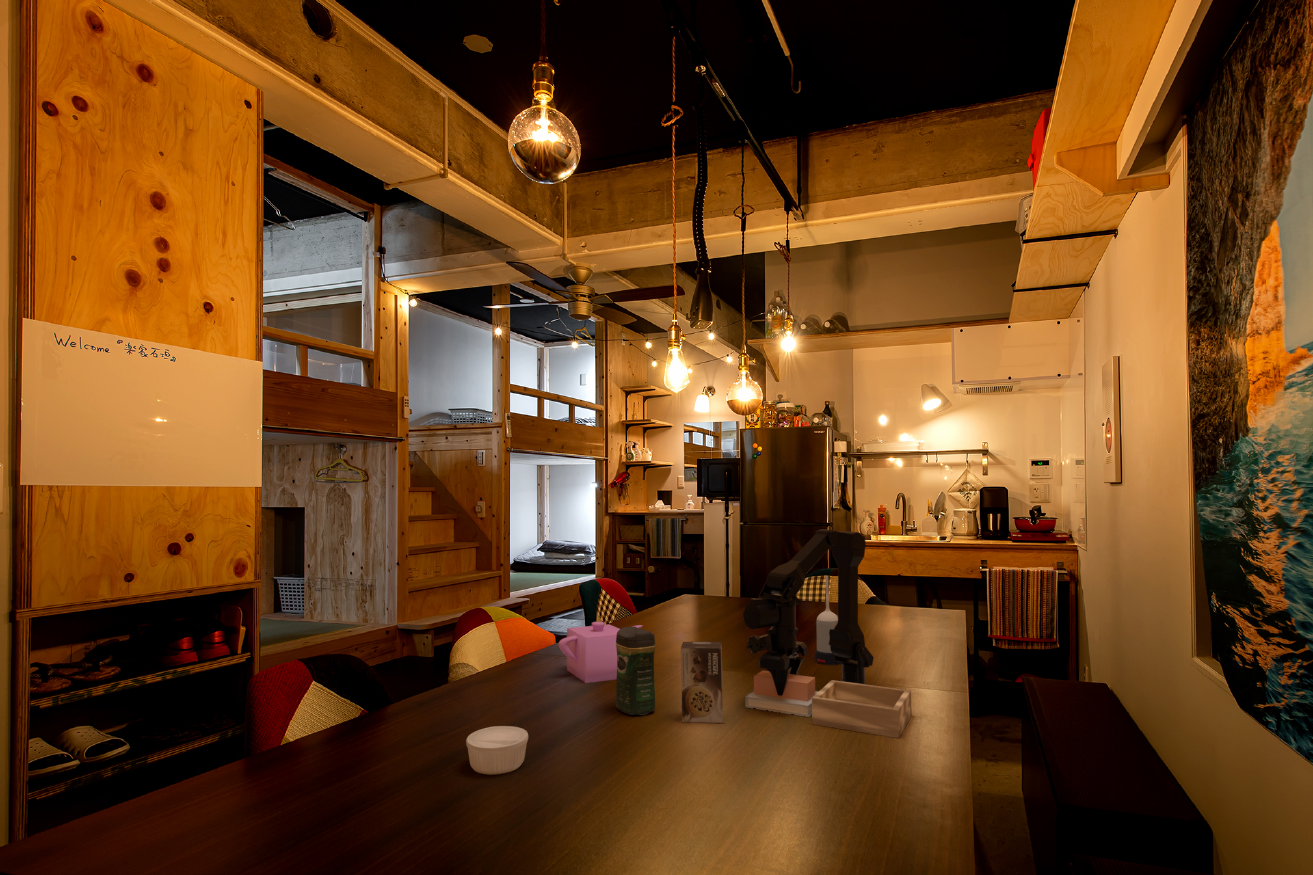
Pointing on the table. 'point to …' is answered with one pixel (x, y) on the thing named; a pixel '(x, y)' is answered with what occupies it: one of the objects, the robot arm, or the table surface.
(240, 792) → the table surface
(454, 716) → the table surface
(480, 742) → the ramekin
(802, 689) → the terracotta rectangular block
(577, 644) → the teapot
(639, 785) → the table surface
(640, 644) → the coffee jar
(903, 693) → the shelf tray
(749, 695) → the book pile base
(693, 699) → the coffee box
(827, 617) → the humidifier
